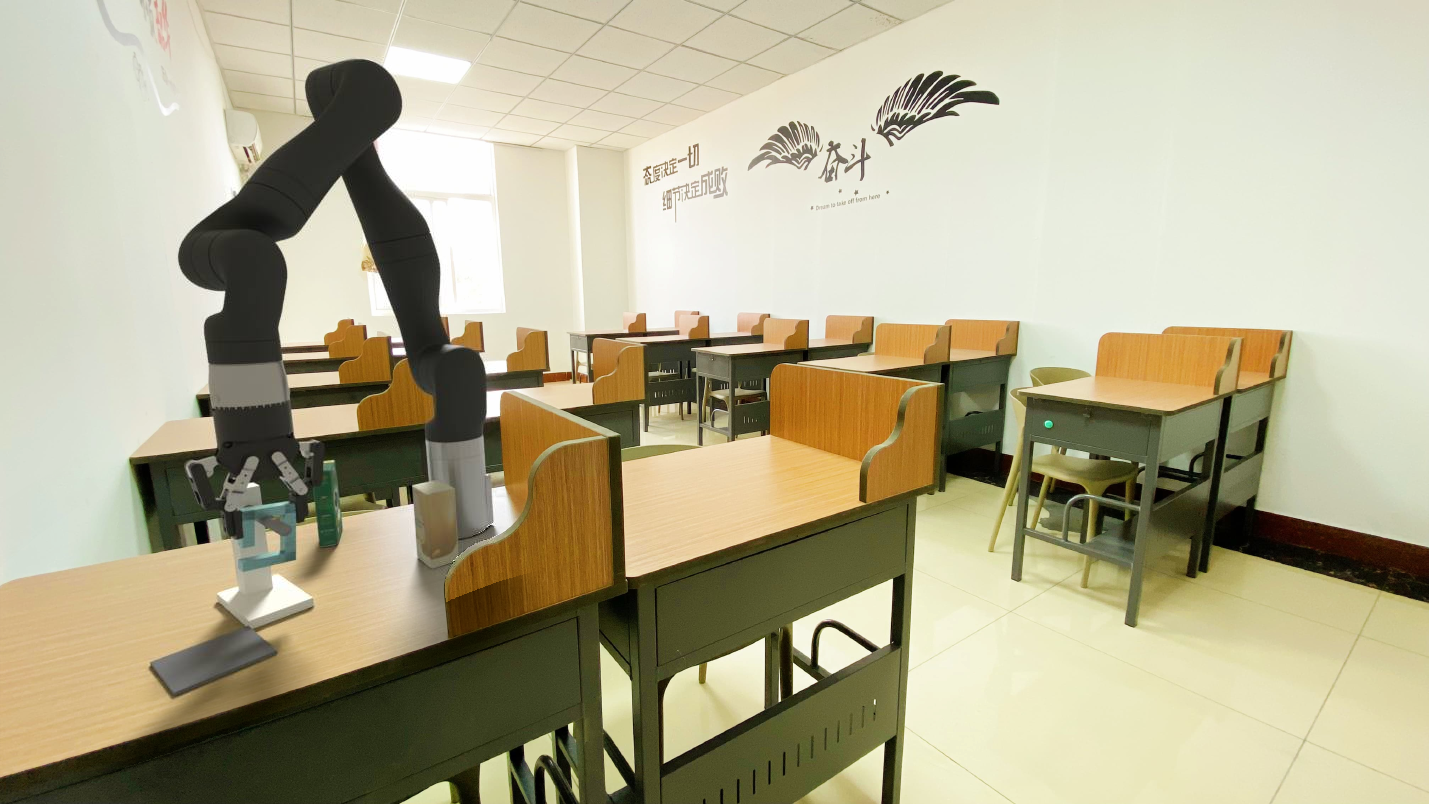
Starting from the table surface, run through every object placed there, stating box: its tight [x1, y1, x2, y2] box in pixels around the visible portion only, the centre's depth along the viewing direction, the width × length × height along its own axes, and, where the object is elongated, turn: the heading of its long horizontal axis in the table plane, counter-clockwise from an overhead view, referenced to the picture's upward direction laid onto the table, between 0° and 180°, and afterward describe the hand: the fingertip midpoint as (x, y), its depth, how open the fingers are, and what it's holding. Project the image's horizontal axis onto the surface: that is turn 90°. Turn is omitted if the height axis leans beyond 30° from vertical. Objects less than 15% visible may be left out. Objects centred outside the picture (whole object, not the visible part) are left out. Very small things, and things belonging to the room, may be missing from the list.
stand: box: [216, 482, 315, 630], centre depth 75 cm, size 7×16×16 cm, turn 55°
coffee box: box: [312, 459, 343, 548], centre depth 98 cm, size 8×3×13 cm, turn 28°
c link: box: [238, 500, 297, 572], centre depth 73 cm, size 6×2×8 cm, turn 146°
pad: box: [149, 626, 278, 697], centre depth 66 cm, size 9×9×1 cm
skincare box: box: [411, 480, 460, 570], centre depth 90 cm, size 6×4×12 cm
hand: (268, 528), depth 73 cm, fingers closed on c link, 6 cm apart
